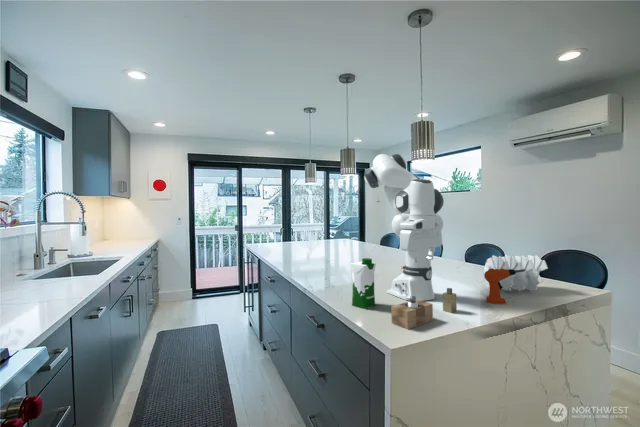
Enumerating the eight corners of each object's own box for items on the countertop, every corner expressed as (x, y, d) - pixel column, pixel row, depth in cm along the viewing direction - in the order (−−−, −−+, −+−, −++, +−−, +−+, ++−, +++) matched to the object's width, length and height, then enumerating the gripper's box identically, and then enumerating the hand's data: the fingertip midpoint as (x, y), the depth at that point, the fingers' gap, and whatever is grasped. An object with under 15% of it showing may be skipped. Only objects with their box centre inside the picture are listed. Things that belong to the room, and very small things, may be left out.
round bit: (405, 321, 108) (405, 296, 108) (411, 319, 110) (411, 294, 110) (413, 324, 105) (414, 298, 105) (419, 322, 107) (420, 297, 107)
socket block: (391, 323, 106) (391, 306, 106) (416, 315, 114) (416, 299, 114) (407, 329, 100) (407, 311, 100) (432, 320, 108) (432, 303, 108)
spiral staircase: (483, 297, 150) (530, 293, 151) (502, 290, 134) (556, 285, 135) (472, 261, 158) (517, 258, 159) (489, 251, 142) (540, 247, 143)
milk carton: (365, 310, 121) (365, 260, 120) (348, 305, 127) (347, 258, 127) (378, 305, 127) (377, 258, 127) (361, 300, 133) (360, 256, 133)
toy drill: (533, 299, 127) (528, 264, 127) (490, 306, 126) (486, 271, 126) (524, 295, 132) (520, 262, 132) (483, 302, 131) (479, 268, 131)
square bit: (442, 310, 118) (442, 288, 118) (448, 309, 120) (447, 286, 120) (451, 313, 115) (451, 290, 115) (456, 311, 118) (456, 288, 117)
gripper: (431, 221, 117) (431, 256, 118) (396, 224, 106) (396, 262, 106) (446, 222, 112) (446, 259, 112) (411, 224, 101) (411, 265, 101)
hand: (422, 260), depth 109 cm, fingers open, 8 cm apart
